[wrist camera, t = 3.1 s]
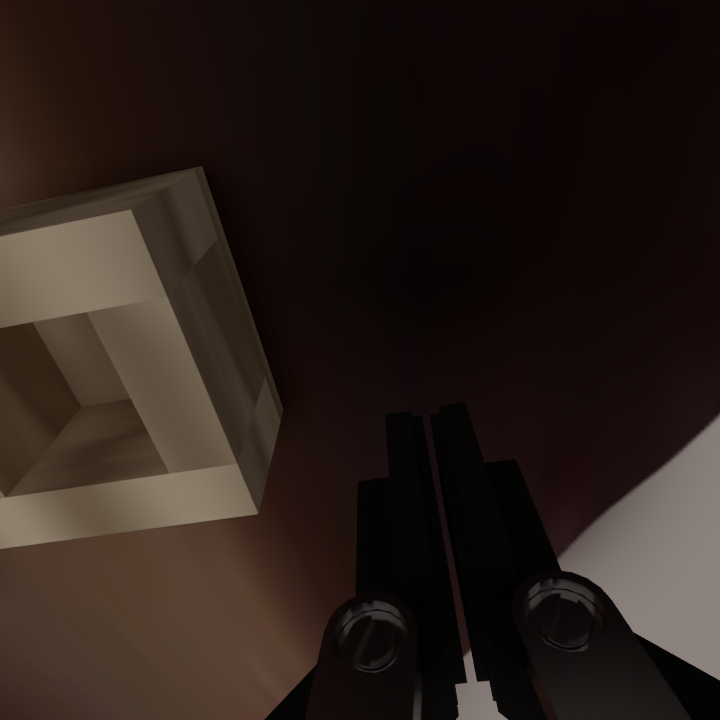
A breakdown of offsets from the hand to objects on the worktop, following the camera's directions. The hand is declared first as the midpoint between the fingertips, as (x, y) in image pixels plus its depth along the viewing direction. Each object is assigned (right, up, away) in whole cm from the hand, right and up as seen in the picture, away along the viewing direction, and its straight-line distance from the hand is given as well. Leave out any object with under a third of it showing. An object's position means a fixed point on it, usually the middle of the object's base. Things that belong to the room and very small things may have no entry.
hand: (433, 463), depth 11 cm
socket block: (-11, +4, +9) cm, 14 cm away
